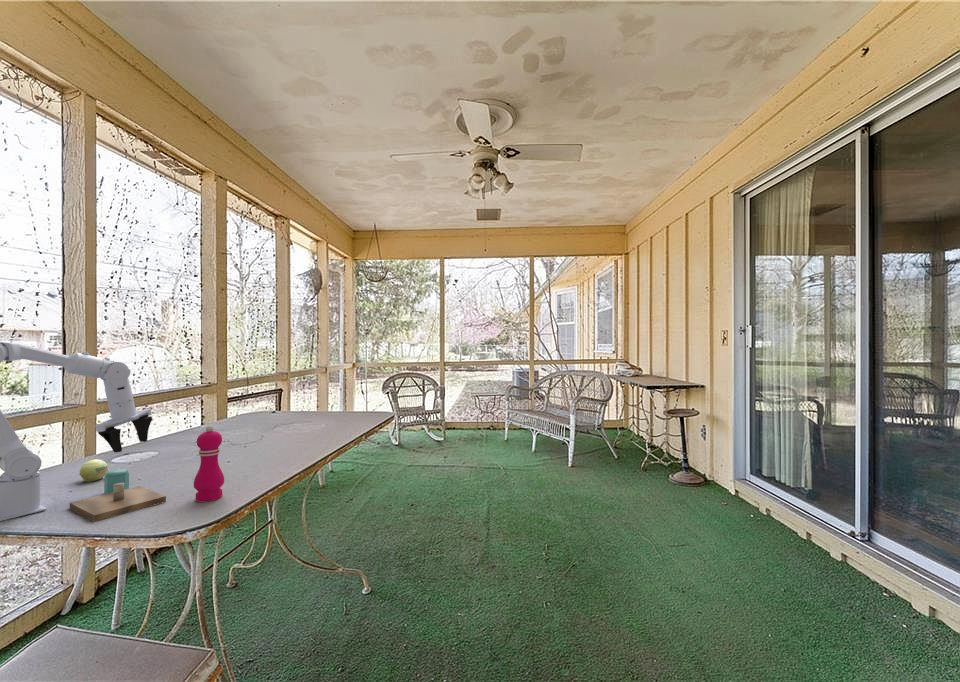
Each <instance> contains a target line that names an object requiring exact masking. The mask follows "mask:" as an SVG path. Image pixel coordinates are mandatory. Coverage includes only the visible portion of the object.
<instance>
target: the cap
mask: <svg viewBox="0 0 960 682" xmlns="http://www.w3.org/2000/svg"><path fill="white" fill-rule="evenodd" d="M103 478H104V480H103V481H104V484H103V489H104V490H103V495H104V494H108V493H112V492H113V485H114V484H117V483H124V489H129V488H130V473H129V469H127V468H120V469H113V470H109V471H107V472H106V473H105V476H103Z"/></svg>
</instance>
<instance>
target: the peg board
mask: <svg viewBox="0 0 960 682" xmlns="http://www.w3.org/2000/svg"><path fill="white" fill-rule="evenodd" d="M162 502H163V503H165V502H167V496H166V495H165V494H161V493H159V492H156V491H154V490H151V489H148V488H145V487H143V486H140V485H139V486H134V487H129V489H124V483H117V484H114V485H113V492H112V493H108V494H104V493H103V494H99V495H95V496H91V497H88V498H82V499H78V500H74V501H70V502H69V509H70V510H72V511H74V512H76V513H77V514H79V515H81V516H83V517H85V518H87V519H88V520H91V521H92V522H98V521H101V520H105V519H109V518H111V517H116V516H120V515H123V514H126V513H130V512H134V511H136V510H141V509H145V508H148V507H147V506H149V507H151V505H152V506H154V504H156V505H158V503H159V504H162ZM144 507H145V508H144Z"/></svg>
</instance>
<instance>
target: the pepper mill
mask: <svg viewBox="0 0 960 682" xmlns="http://www.w3.org/2000/svg"><path fill="white" fill-rule="evenodd" d="M222 442H223V436H222V434H221V433H220V432H218V431H215V430H214V427H213V425H208V426H206V428H205V431H204V432H202V433H200V434H199V435H198V436H197V438H196V446H197V447H198V448H199V450H198V456H200V466H199V468H198V470H197V473H196V475H195V477H194V479H193V480H194V481H193V488H194V489H195V490H196V491H197V492H195V501H196V502H198V503H205V502H206V503H207V502H212V501H216V500H218V499H220V498H222V497H223V488H222V486H223V485H224V484H225V476H224V473H223V471H222V469H221V468H220V464H219V454H220V453H221V451H220V450H221V448H220V446H221V445H222Z"/></svg>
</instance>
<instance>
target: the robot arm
mask: <svg viewBox="0 0 960 682" xmlns="http://www.w3.org/2000/svg"><path fill="white" fill-rule="evenodd" d="M20 360H21V361H22V360H27V361H33V362H39V363H42V364H48V365H51V366H52V365H54V366H58V367H63V368H64V370H65V371H66V372H67V374H72V375H77V376H82V377H87V378H93V379H100V380H102V382H103V385H104V393H105V397H106V401H107V405H108V409H109V415H110V419H108V420H106V421H104V422H100V423H99V424H95V426H94V427H95V429H96V432H97V434H98V435H99V436H101V438H102V439H104V440H105V441H106V442H107V444H108V445H109V446H110V448H111V449H112V451H113V453H122V452H123V451H122V450H123V447H122V442H121V430H122V429H121V428H116V427H117V426H121V425H124V424H128V423H130V422H131V423H132V424H133V427H134V428H135V430H136V433H137V439H138V440H139V442H140V443H143V442H144V443H145V442H148V436H149V429H150V427H151V426H150V425H151V424H152V421H153V416H152V414H153V413H152V409H151V408H145V409H142V410H137V411H136V404H135V400H134V396H133V391H132V386H131V384H130V380H129V377H130V376H131V369H130V368H129V367H128V366H127V364H125V363H123V362H121V361H114V360H111V358H109V357H104V358H102V357H98V356H93V355H90V353H89V352H85V351H82V352H81V353H80V352H74V353H71V354H69V355H66V354H63V353H58V352H54V351H50V350H45V349H41V348H38V347H35V346H30V345H26V344H21V343H13V342H3V341H0V364H1V363H2V362H3V361H5V362H13V361H20ZM41 467H42V459H41V457H40V456H39V455H38V454H35V453H34V452H33V451H32V450H31V449H28V448H27V446H26V444H24V442H23V441H22V440H21V438H20V437H19V436H18V434H17V433H16V431H15V430H14V428H13V427H12V425H11V423H10V422H9V421H8V420H7V418H6V416H5V415H4V413H3V412H2V410H1V409H0V469H1V470H2V471H3V473H2V474H1V475H0V522H2V521H6V520H9V519H14V518H18V517H22V516H26V515H32V514H36V513H39V512H44V511H47V507H45V506H43V505H42V504H41V471H39V470H40V469H41Z"/></svg>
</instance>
